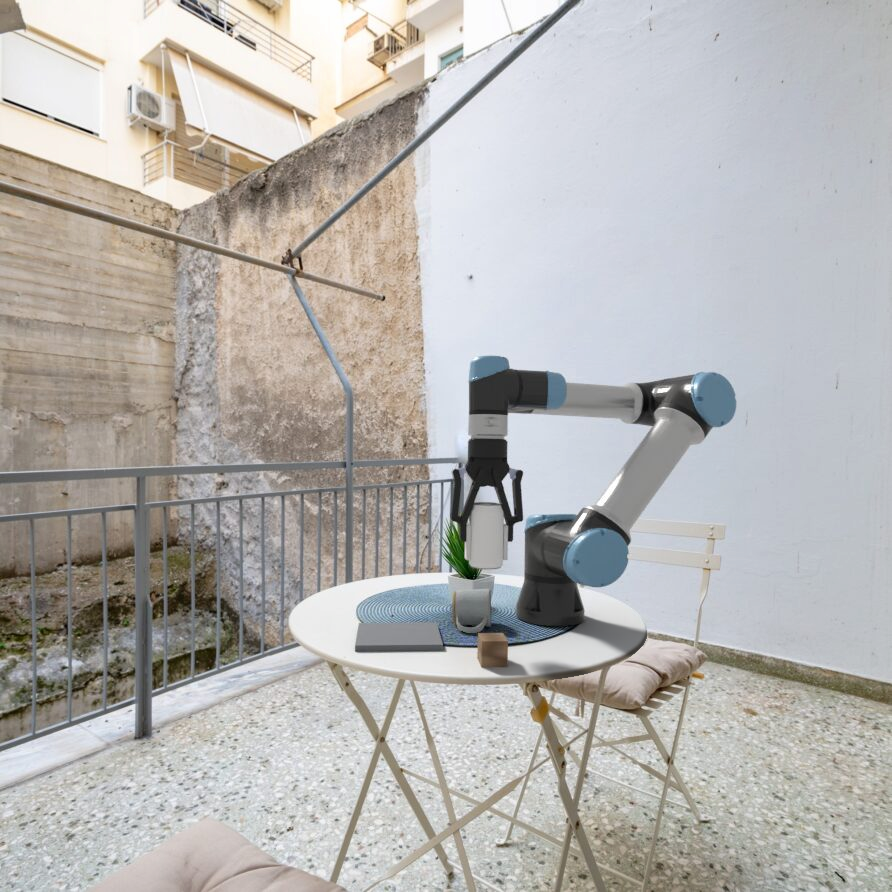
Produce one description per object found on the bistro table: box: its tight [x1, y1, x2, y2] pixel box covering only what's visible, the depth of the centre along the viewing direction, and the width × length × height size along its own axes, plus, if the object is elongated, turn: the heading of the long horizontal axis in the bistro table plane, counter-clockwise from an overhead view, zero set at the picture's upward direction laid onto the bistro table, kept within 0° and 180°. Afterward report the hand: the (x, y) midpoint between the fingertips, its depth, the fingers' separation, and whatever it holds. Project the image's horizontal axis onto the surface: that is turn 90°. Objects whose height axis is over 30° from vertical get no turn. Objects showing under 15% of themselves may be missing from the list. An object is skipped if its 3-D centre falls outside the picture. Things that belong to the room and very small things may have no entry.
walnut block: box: [476, 632, 509, 668], centre depth 102 cm, size 4×4×4 cm
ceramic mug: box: [451, 588, 492, 634], centre depth 122 cm, size 11×8×8 cm
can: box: [468, 501, 505, 570], centre depth 111 cm, size 6×6×12 cm
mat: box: [354, 621, 444, 652], centre depth 113 cm, size 16×14×1 cm
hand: (485, 558), depth 111 cm, fingers closed on can, 6 cm apart
